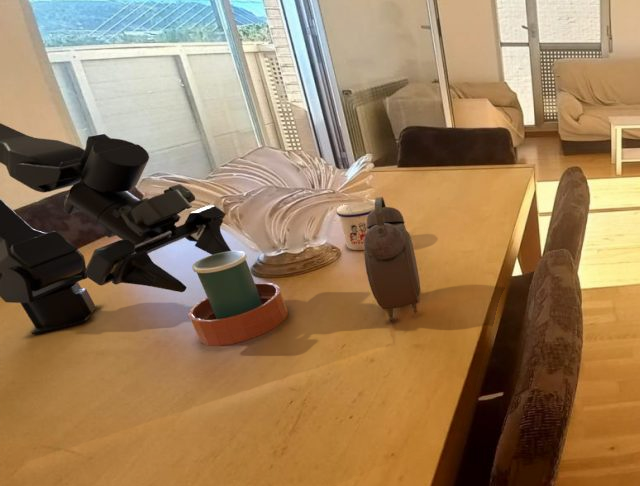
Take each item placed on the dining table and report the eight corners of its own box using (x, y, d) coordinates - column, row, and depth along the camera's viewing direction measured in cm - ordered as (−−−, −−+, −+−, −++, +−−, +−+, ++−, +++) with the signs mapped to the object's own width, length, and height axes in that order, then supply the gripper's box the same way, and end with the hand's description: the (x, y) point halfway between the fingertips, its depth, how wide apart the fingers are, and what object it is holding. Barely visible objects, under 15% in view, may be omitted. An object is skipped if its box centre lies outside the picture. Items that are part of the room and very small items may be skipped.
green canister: (217, 340, 75) (188, 273, 70) (222, 321, 80) (195, 257, 75) (268, 326, 78) (243, 262, 74) (270, 308, 83) (247, 247, 79)
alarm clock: (380, 292, 88) (354, 191, 81) (421, 284, 91) (400, 185, 83) (377, 334, 76) (345, 219, 68) (425, 323, 79) (400, 211, 71)
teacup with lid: (349, 254, 104) (335, 205, 100) (343, 241, 111) (330, 194, 107) (406, 240, 111) (395, 193, 106) (397, 229, 117) (387, 184, 113)
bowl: (194, 358, 72) (181, 330, 70) (206, 321, 81) (195, 296, 79) (288, 331, 78) (278, 305, 76) (288, 300, 87) (280, 276, 85)
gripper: (62, 195, 61) (173, 272, 65) (194, 159, 78) (276, 220, 82) (40, 249, 65) (146, 319, 68) (170, 203, 82) (250, 261, 85)
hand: (211, 275), depth 76 cm, fingers open, 9 cm apart
